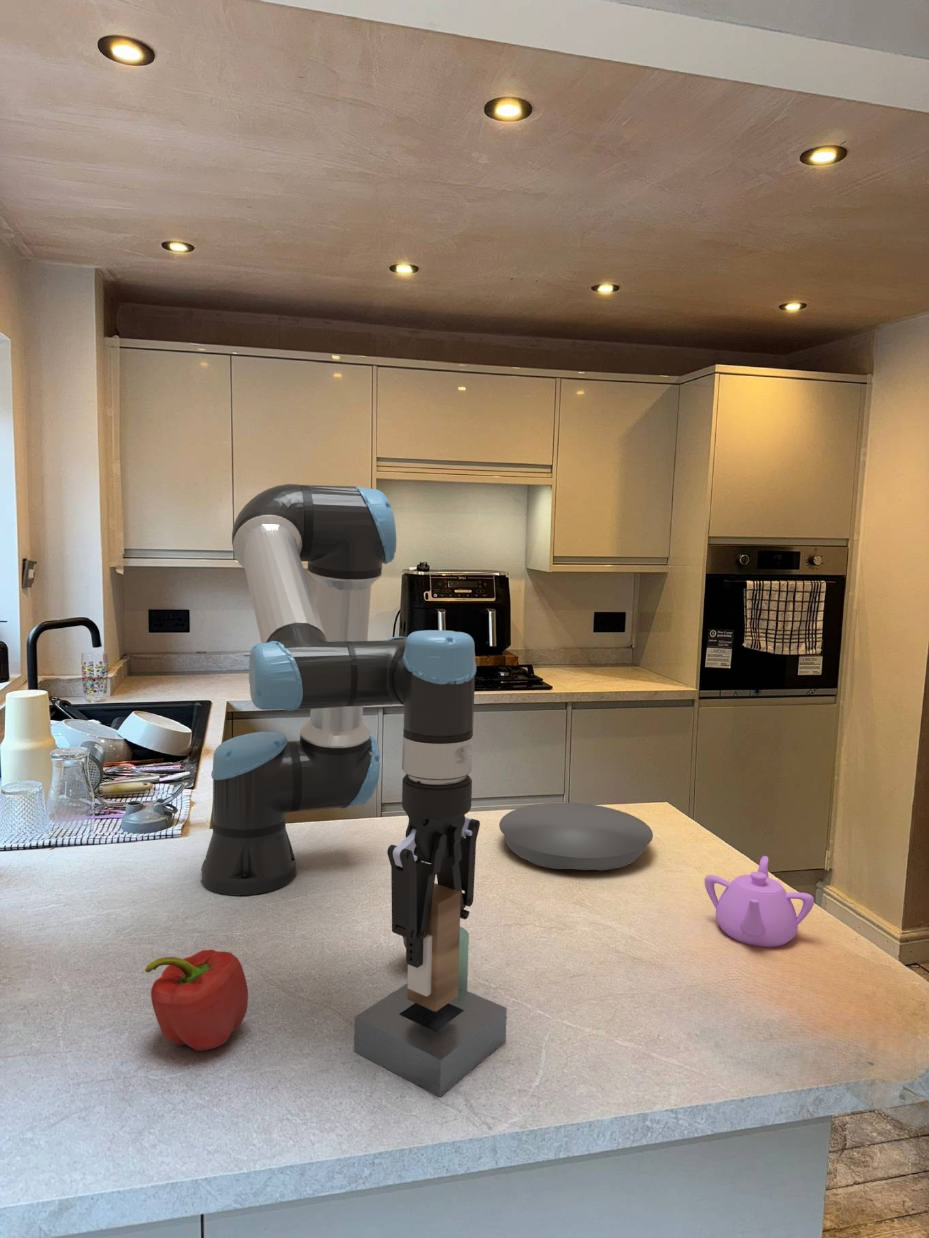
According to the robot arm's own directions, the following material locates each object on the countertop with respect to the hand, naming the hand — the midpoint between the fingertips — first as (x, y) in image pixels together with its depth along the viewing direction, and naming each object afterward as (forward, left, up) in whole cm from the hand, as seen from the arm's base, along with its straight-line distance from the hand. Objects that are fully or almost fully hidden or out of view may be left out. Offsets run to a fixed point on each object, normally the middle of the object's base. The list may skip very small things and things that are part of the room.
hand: (432, 981), depth 91 cm
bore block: (0, 0, -8) cm, 8 cm away
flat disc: (-17, +63, -8) cm, 66 cm away
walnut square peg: (0, 0, -2) cm, 2 cm away
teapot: (+20, +51, -8) cm, 56 cm away
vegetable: (-21, -15, -8) cm, 27 cm away
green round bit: (-5, +9, -8) cm, 13 cm away
